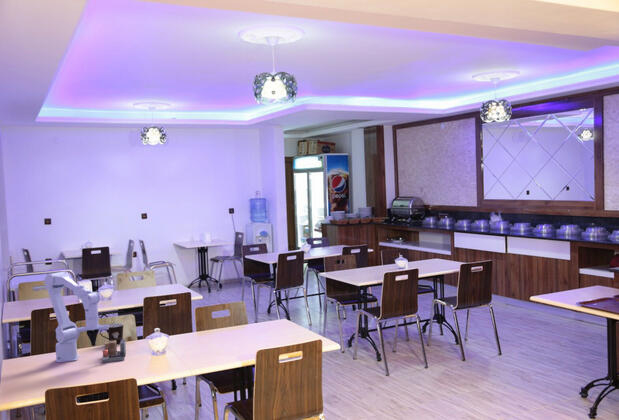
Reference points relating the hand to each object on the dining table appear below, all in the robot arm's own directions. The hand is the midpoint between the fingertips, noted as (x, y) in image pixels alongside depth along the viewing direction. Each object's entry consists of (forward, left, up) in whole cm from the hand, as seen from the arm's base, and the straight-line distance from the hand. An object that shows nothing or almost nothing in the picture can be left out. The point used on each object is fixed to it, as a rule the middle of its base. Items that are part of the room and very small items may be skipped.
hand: (93, 345), depth 275 cm
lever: (+5, 0, -7) cm, 9 cm away
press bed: (+9, +6, -9) cm, 14 cm away
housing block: (+7, +9, -7) cm, 14 cm away
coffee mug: (+6, +35, -9) cm, 37 cm away
